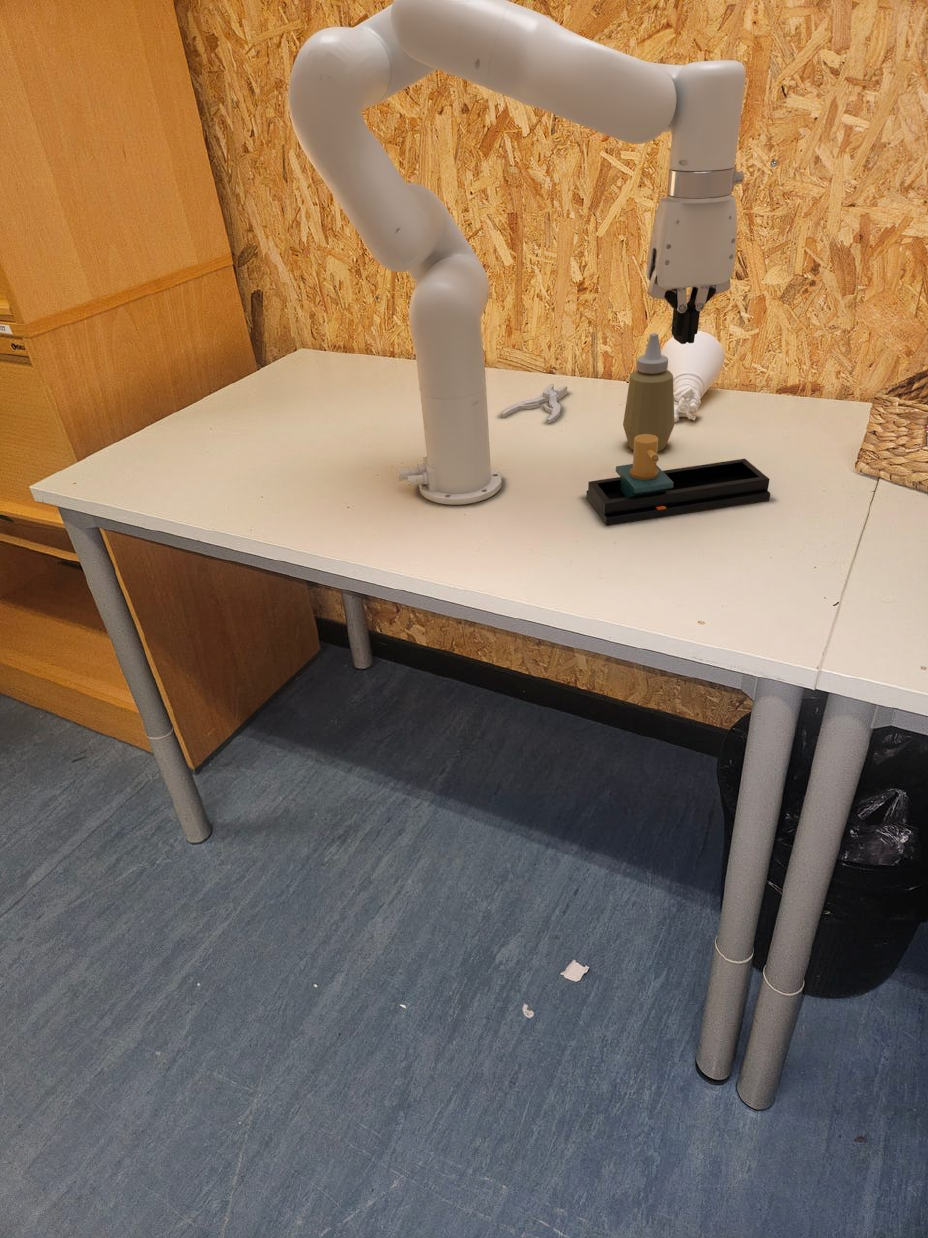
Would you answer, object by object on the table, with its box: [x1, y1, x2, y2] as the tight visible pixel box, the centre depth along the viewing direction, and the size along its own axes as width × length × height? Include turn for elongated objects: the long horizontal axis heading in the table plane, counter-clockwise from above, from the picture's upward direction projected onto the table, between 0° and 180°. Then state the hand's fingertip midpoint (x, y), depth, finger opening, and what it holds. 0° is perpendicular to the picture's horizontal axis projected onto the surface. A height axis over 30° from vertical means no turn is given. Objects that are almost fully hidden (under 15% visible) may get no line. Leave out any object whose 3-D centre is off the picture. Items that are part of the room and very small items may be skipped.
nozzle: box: [615, 434, 673, 497], centre depth 114 cm, size 6×8×8 cm
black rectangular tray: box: [585, 458, 771, 526], centre depth 117 cm, size 24×9×3 cm, turn 101°
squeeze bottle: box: [622, 333, 675, 452], centre depth 128 cm, size 8×8×18 cm
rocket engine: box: [660, 330, 725, 423], centre depth 144 cm, size 12×12×18 cm
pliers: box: [501, 383, 568, 425], centre depth 151 cm, size 10×2×15 cm
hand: (683, 340), depth 108 cm, fingers closed
